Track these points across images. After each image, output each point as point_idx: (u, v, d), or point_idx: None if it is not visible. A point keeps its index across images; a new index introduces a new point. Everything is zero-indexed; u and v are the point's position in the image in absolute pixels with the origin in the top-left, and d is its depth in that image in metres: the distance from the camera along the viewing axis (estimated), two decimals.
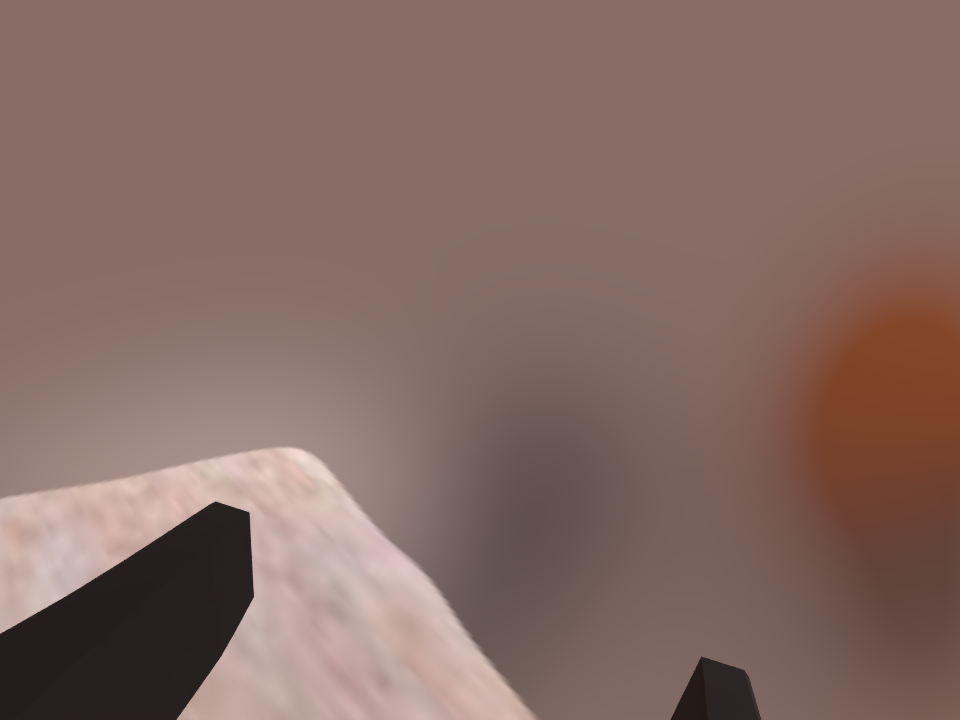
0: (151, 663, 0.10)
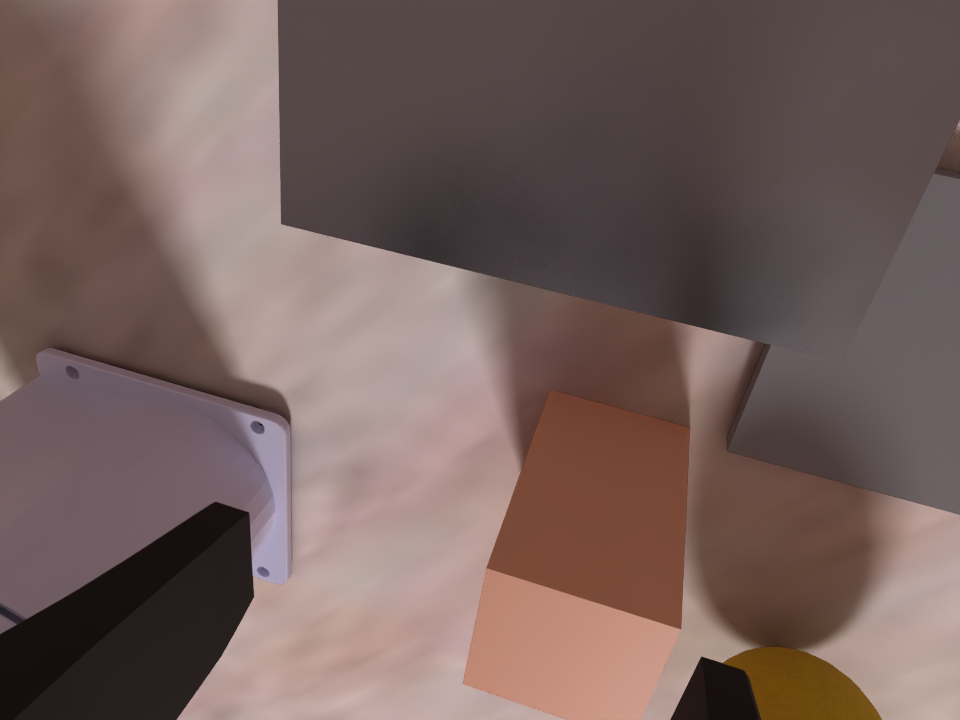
0: (151, 663, 0.10)
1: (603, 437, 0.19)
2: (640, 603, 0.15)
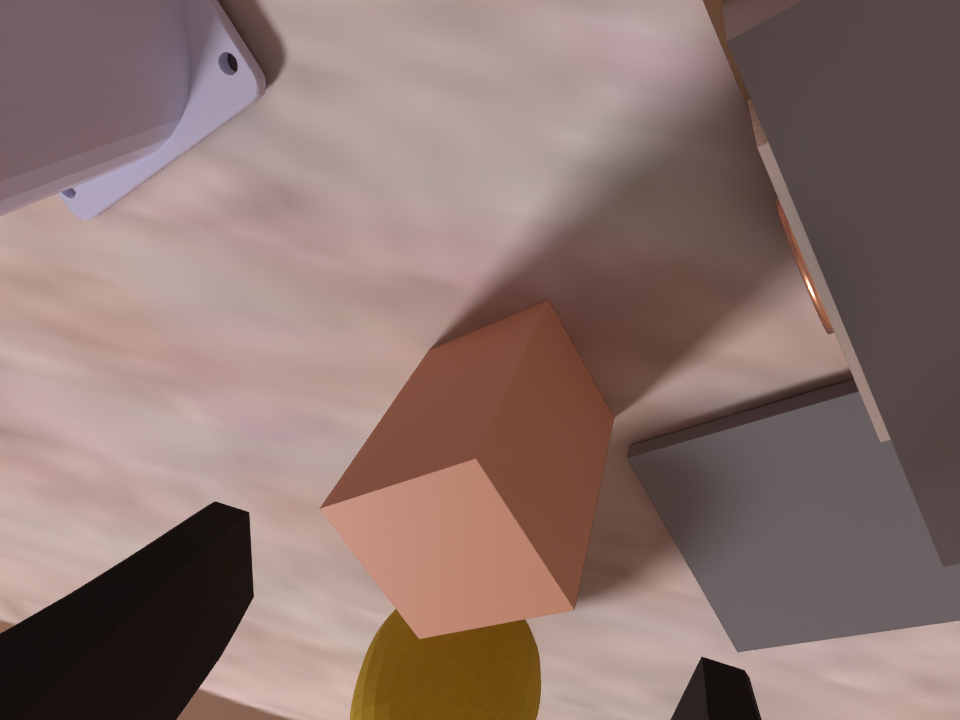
0: (151, 663, 0.10)
1: (568, 382, 0.18)
2: (558, 568, 0.15)
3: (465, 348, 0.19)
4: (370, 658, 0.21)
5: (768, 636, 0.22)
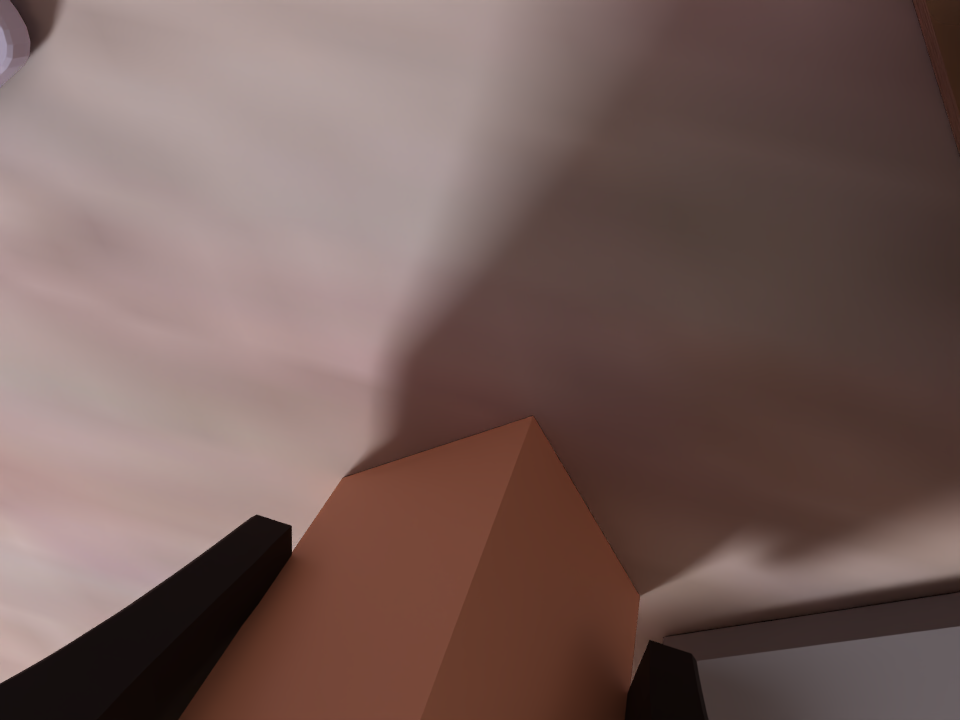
0: (199, 680, 0.10)
1: (566, 568, 0.10)
2: None
3: (393, 495, 0.11)
4: None
5: None
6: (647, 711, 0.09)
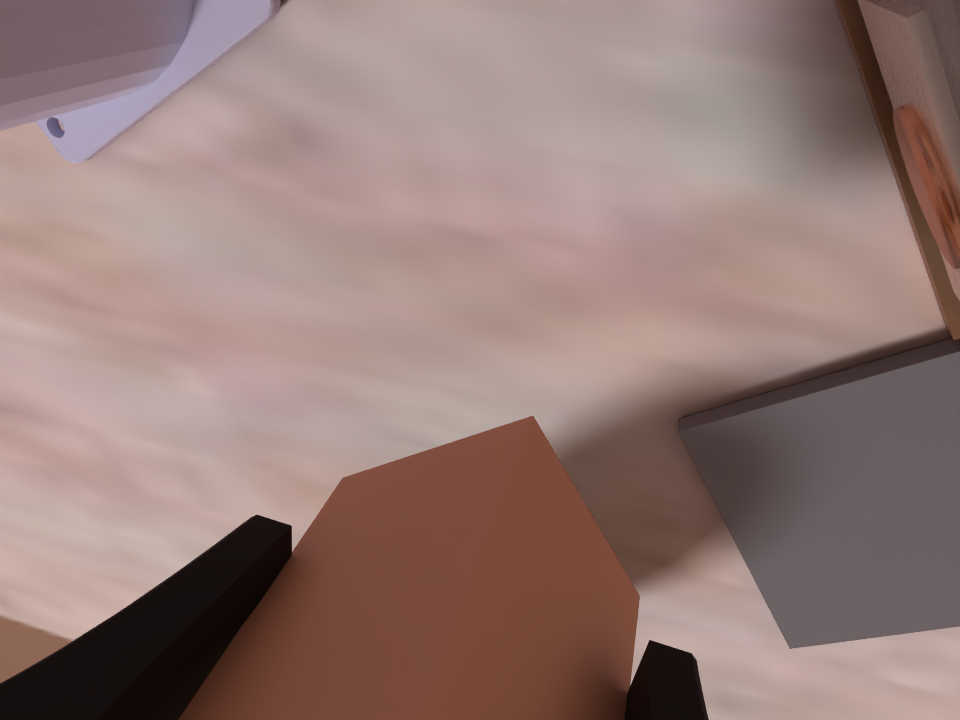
0: (199, 680, 0.10)
1: (566, 568, 0.11)
2: None
3: (392, 496, 0.11)
4: None
5: (826, 631, 0.20)
6: (647, 711, 0.09)
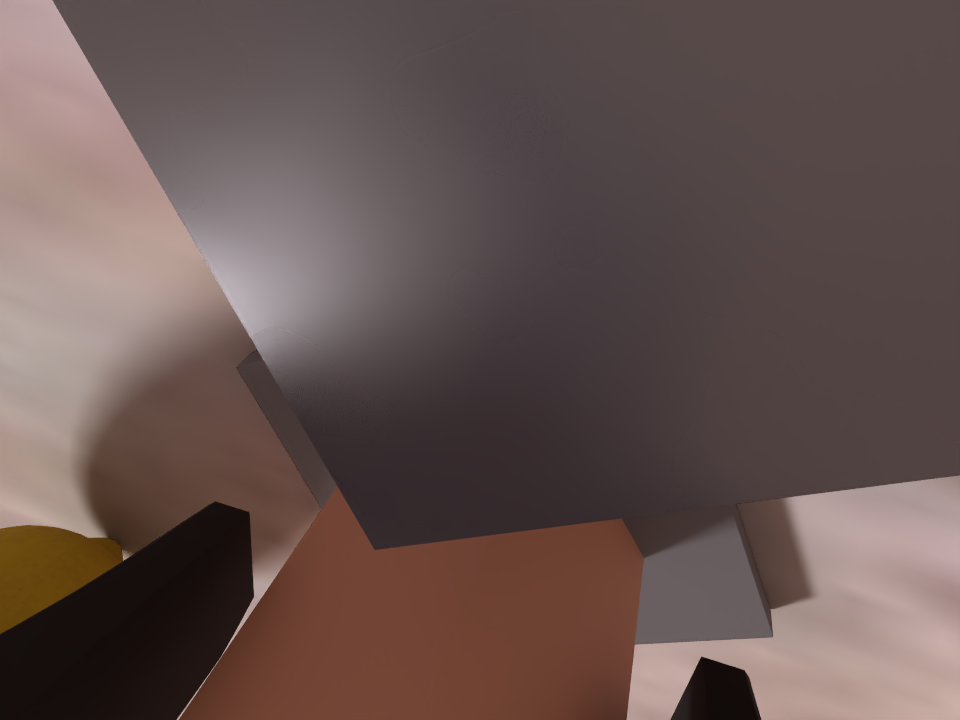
0: (151, 663, 0.10)
1: (577, 525, 0.11)
2: None
3: None
4: None
5: None
6: None
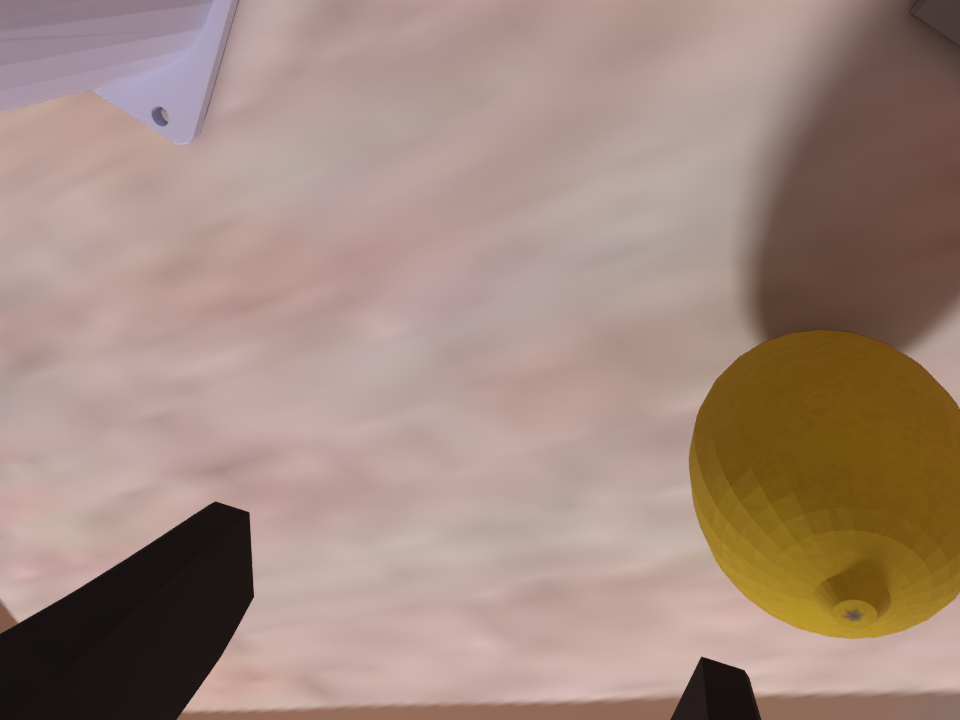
0: (151, 663, 0.10)
1: None
2: None
3: None
4: (696, 456, 0.15)
5: None
6: None
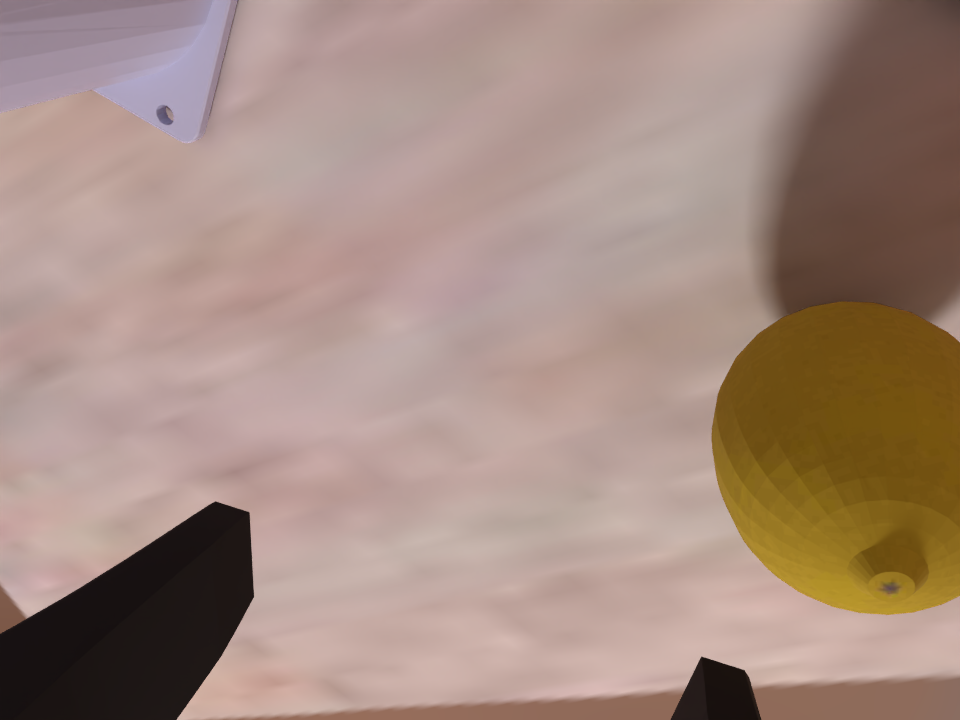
0: (151, 663, 0.10)
1: None
2: None
3: None
4: (719, 434, 0.15)
5: None
6: None
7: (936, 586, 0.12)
